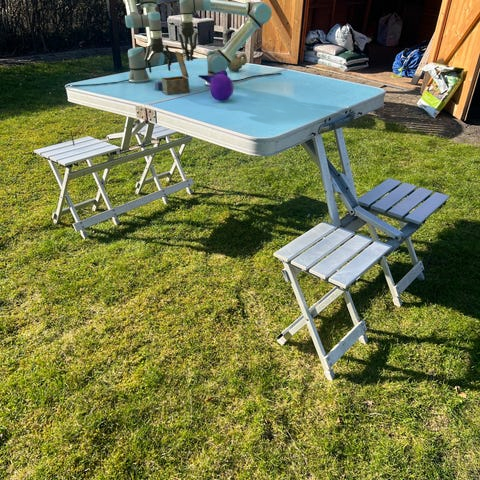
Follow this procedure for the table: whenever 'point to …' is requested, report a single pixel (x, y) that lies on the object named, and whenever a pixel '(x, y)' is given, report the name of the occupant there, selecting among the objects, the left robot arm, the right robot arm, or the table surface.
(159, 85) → the block
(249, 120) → the table surface
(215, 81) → the toy
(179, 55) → the lid
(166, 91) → the chest
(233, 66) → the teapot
